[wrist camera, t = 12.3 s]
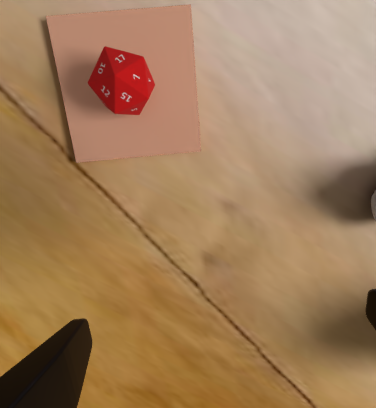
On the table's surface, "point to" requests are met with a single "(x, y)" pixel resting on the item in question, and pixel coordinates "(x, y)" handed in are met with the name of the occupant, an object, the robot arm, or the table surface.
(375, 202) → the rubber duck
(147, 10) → the terracotta tile
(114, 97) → the die
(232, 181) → the table surface
